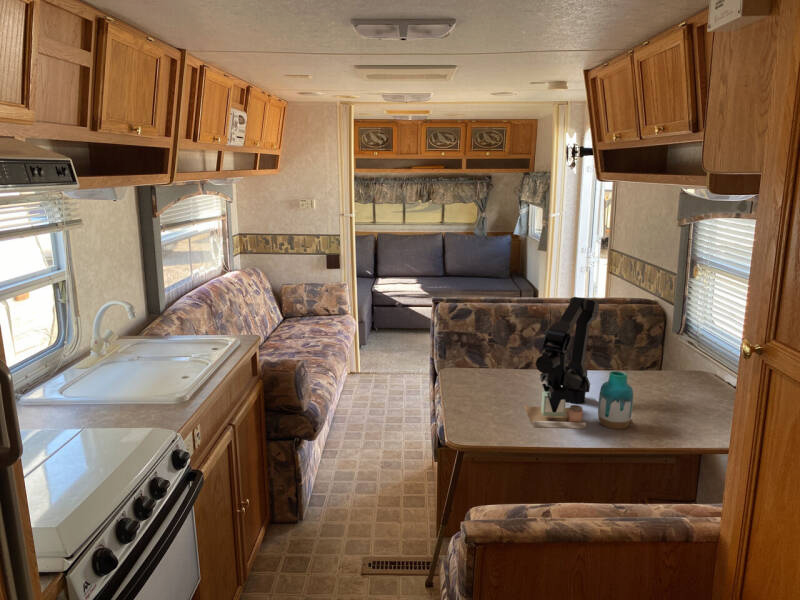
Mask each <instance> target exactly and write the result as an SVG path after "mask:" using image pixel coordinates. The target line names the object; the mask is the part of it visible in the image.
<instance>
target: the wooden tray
mask: <svg viewBox="0 0 800 600" xmlns="http://www.w3.org/2000/svg"><path fill="white" fill-rule="evenodd" d="M523 407H524V410H525V412H526V414H527V416H528V419H529V421H530V424H531V426H532V428H552V429H554V428H555V429H556V428H557V429H583V430H584V429H586V424H587V423H586V422H583V421H582V422H568V417H569V408H570V407H565V416H543V414H542V412H541V406H523Z"/></svg>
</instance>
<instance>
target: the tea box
mask: <svg viewBox="0 0 800 600" xmlns="http://www.w3.org/2000/svg"><path fill="white" fill-rule="evenodd" d="M547 393H549V392H545V391H542V393H541V403H540V404H541V406H540V407H541V412H542V414H543V416H565V408H566V403H567V402H566V400H561V401H560V403H559V406H558V408H557V411H556V412H552V408H551V405H550V402H549V398H548V395H547Z"/></svg>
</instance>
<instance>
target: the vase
mask: <svg viewBox="0 0 800 600" xmlns="http://www.w3.org/2000/svg"><path fill="white" fill-rule="evenodd" d="M597 404H598V405H597V409H598V410H597V417H598V421H599V423H600V424H601V425H602V426H603V427H606V428H609V429H612V430H613V429H614V430H624V429H626V428H627V427H628V426H629V424H630V423H631V420H632V419H631V418H632V414H633V408H634V407H633V406H634V390H633V388H632V386H631V385H630V384H628V374H627V373H626V372H624V371H620V370H612V371H610V372H609V377H608V380H607V381H605V382H604V383H602V385H601V386H600V390H599V395H598V403H597Z"/></svg>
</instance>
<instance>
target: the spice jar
mask: <svg viewBox="0 0 800 600" xmlns="http://www.w3.org/2000/svg"><path fill="white" fill-rule="evenodd" d="M568 408H569V417H568V422H583V414H584V410H583V407H582V406H580V405H579V404H572V405H570V407H568Z"/></svg>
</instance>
